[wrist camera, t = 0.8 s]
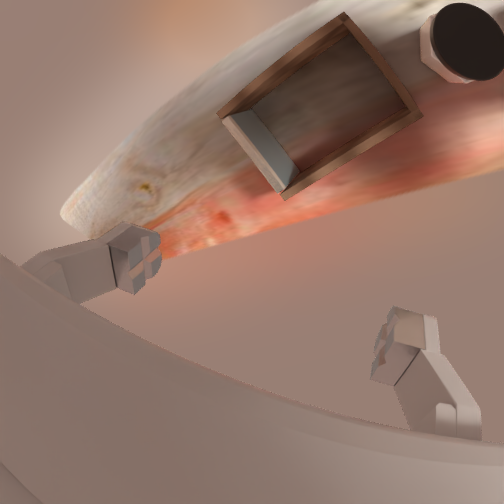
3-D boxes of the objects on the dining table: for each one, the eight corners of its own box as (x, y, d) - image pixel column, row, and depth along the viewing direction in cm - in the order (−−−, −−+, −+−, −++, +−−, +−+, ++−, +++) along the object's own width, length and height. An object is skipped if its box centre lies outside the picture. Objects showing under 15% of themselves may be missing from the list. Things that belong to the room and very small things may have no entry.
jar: (476, 88, 29) (508, 93, 19) (419, 76, 31) (434, 75, 22) (475, 26, 24) (505, 10, 15) (417, 14, 27) (429, -9, 17)
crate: (351, 23, 31) (344, 11, 25) (416, 109, 34) (423, 116, 28) (242, 106, 43) (216, 113, 37) (300, 181, 46) (284, 200, 40)
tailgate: (252, 108, 42) (227, 116, 36) (300, 170, 45) (284, 189, 38) (246, 113, 43) (221, 121, 37) (294, 174, 45) (277, 193, 39)
